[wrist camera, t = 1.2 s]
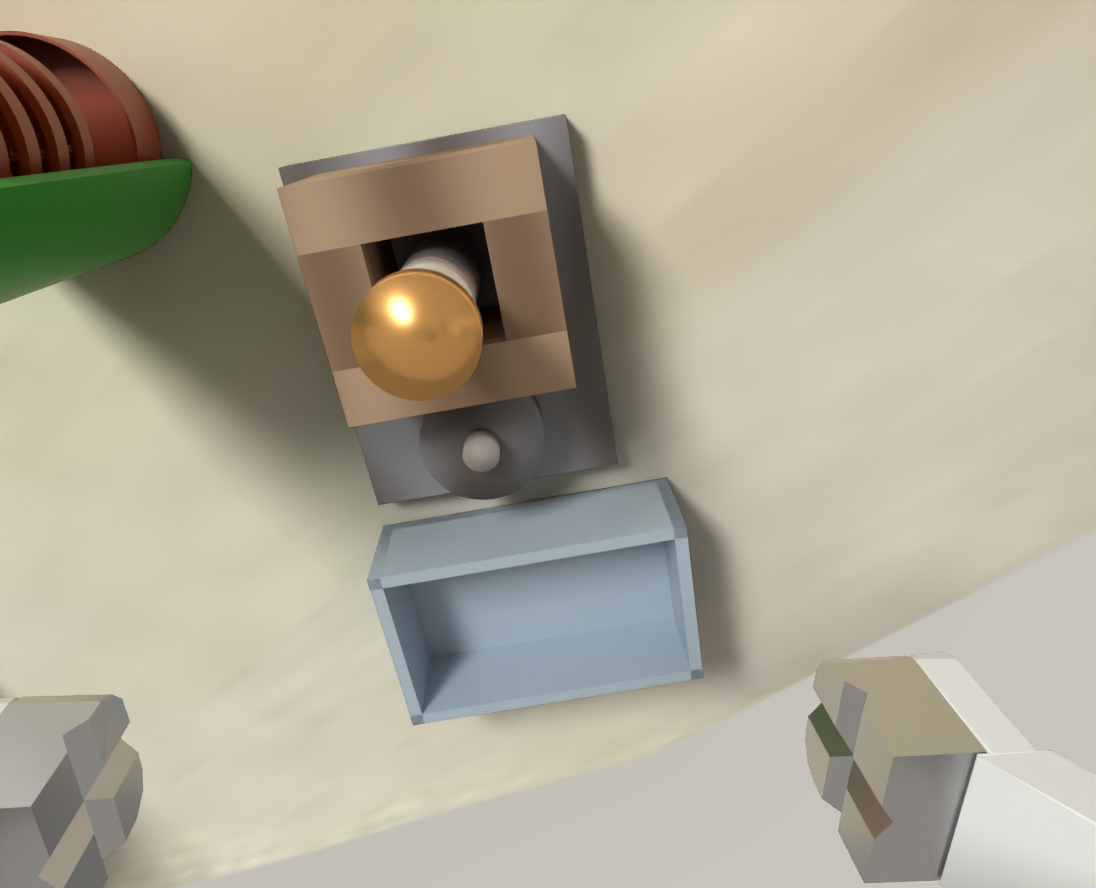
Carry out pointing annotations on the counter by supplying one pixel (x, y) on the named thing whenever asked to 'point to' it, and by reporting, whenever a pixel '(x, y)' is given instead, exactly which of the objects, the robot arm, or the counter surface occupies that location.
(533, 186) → the bracket
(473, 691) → the tray
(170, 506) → the counter surface
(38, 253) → the motor
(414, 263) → the pin
